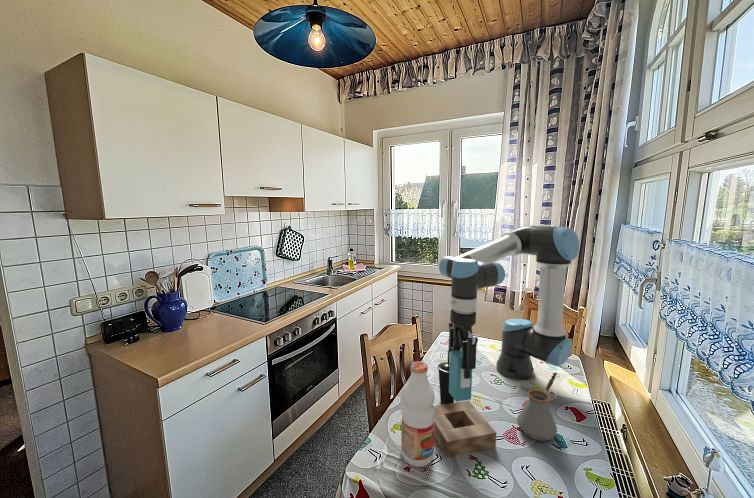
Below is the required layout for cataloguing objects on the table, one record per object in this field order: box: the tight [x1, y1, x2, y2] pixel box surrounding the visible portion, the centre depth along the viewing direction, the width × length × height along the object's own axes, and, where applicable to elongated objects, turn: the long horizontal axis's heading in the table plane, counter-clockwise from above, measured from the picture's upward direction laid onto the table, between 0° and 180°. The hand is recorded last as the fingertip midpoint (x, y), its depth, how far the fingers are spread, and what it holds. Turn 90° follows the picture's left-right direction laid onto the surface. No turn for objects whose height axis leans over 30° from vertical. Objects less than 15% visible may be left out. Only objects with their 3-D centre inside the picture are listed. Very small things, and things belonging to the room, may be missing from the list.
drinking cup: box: [437, 349, 455, 405], centre depth 114 cm, size 8×8×20 cm
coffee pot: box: [516, 371, 560, 442], centre depth 102 cm, size 21×12×15 cm, turn 132°
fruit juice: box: [400, 360, 435, 468], centre depth 89 cm, size 9×9×28 cm
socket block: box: [433, 400, 497, 458], centre depth 99 cm, size 16×16×5 cm
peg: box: [449, 350, 473, 403], centre depth 96 cm, size 5×5×14 cm
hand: (460, 381), depth 97 cm, fingers closed on peg, 5 cm apart
